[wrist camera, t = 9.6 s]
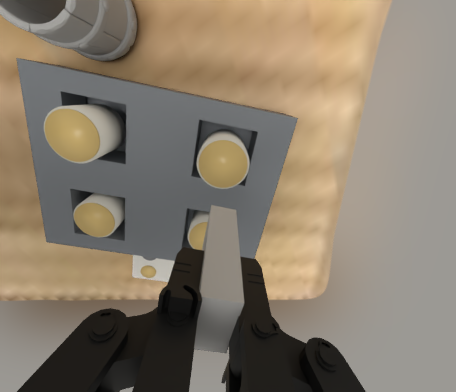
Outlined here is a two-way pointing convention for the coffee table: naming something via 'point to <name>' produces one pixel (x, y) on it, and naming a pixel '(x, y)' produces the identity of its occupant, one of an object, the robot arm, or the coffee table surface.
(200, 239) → the button
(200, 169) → the button
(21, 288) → the coffee table surface
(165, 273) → the card
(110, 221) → the button
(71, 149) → the button
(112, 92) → the console
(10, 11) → the mug
